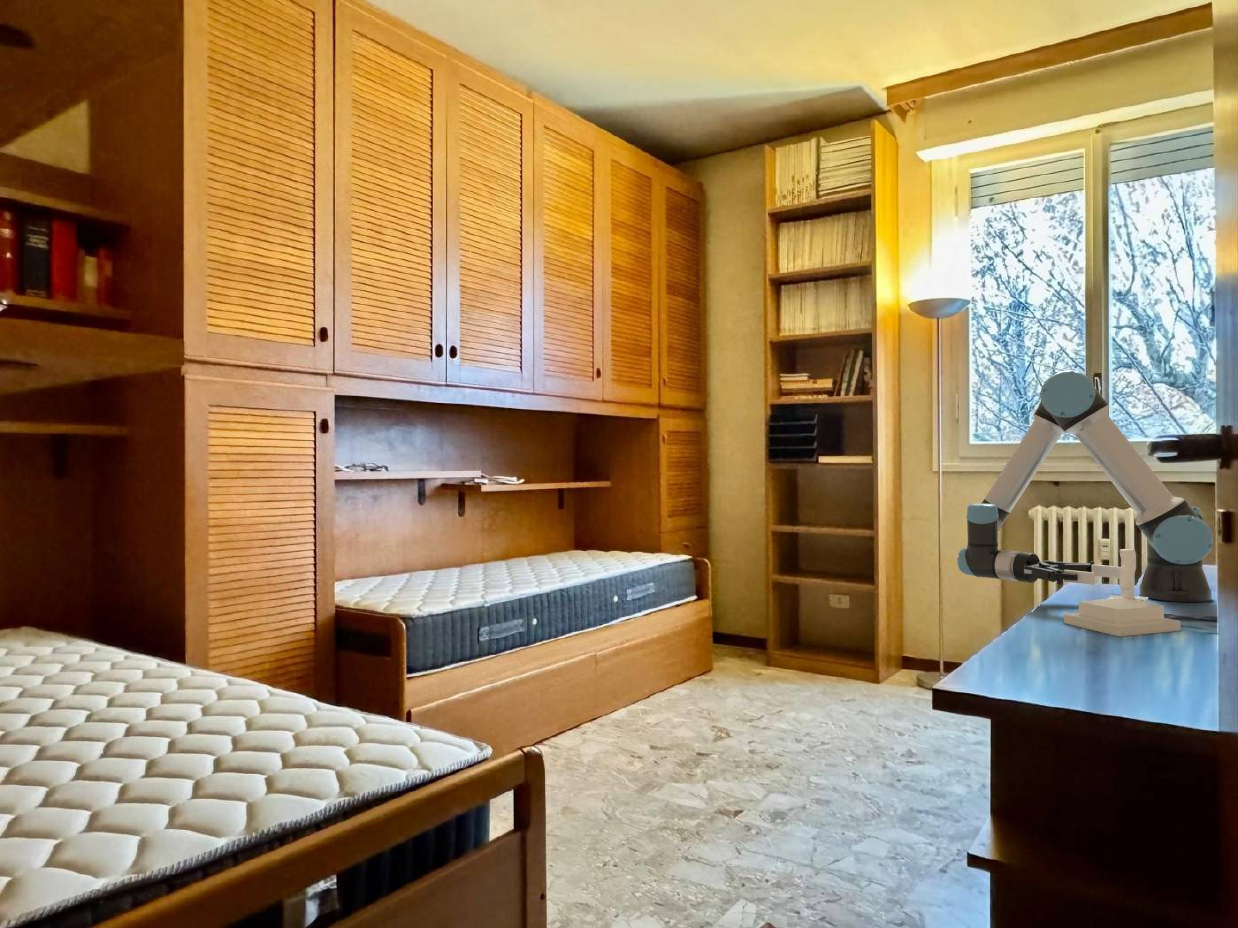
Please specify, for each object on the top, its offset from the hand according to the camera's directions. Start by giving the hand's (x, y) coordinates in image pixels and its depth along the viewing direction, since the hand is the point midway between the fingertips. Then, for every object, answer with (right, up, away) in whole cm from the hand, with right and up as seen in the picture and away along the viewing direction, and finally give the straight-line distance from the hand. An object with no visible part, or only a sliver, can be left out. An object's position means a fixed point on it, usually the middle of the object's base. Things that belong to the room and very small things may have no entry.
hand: (1107, 575), depth 188 cm
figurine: (+3, -9, -3) cm, 10 cm away
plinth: (-7, -9, -16) cm, 20 cm away
